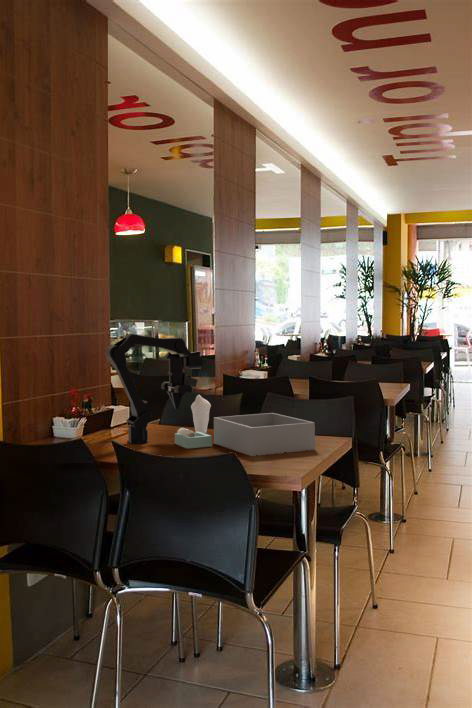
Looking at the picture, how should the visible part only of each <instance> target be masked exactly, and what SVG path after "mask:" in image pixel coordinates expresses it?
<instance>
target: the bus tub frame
mask: <svg viewBox="0 0 472 708" xmlns="http://www.w3.org/2000/svg"><path fill="white" fill-rule="evenodd" d="M315 428H316V425H315V422H314V421H309V420H305V419H301V418H297V417H292V416H287V415H283V414H281V413H280V414H279V413H275V412H269V413H253V414H243V415H242V414H241V415H240V414H239V415H231V416H230V415H228V416H217V417H215V416H214V417H213V444H215V445H217V446H221V447H224V448H226V449H229V450H233V451H235V452H238V453H242V454H244V455H247V456H250V457H255V456H256V455H258V456H266V455H267V454H268V455H276V453H277V454H285V453H284V452H287V453H295V452H303V451H306V450H307V451H315V449H316V448H315V447H316V446H315V444H316V442H315V441H316V439H315V437H316V435H315V433H316V432H315ZM307 451H306V452H307Z"/></svg>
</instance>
